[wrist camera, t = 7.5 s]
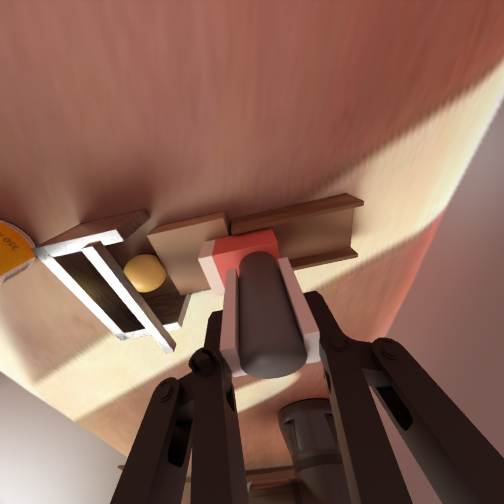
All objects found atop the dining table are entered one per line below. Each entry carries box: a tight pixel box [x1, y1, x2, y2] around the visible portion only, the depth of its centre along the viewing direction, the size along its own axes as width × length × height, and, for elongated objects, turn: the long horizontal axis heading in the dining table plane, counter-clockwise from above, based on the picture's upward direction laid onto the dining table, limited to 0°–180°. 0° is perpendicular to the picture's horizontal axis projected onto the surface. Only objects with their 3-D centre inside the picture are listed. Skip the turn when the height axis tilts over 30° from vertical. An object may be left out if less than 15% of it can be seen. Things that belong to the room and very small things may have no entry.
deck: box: [147, 211, 232, 295], centre depth 20 cm, size 8×8×2 cm
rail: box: [231, 193, 364, 271], centre depth 19 cm, size 6×12×3 cm, turn 102°
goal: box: [30, 209, 191, 353], centre depth 18 cm, size 12×7×8 cm, turn 12°
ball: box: [123, 254, 166, 292], centre depth 19 cm, size 4×4×4 cm
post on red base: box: [198, 227, 307, 379], centre depth 14 cm, size 4×7×11 cm, turn 102°
